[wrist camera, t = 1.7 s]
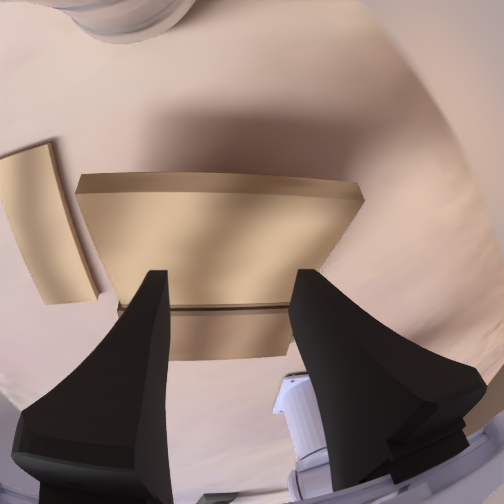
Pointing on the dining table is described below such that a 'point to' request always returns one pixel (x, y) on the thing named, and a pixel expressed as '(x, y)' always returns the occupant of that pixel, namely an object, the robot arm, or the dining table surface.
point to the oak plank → (214, 232)
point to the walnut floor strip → (228, 332)
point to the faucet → (217, 498)
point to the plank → (45, 226)
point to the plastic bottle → (120, 17)
